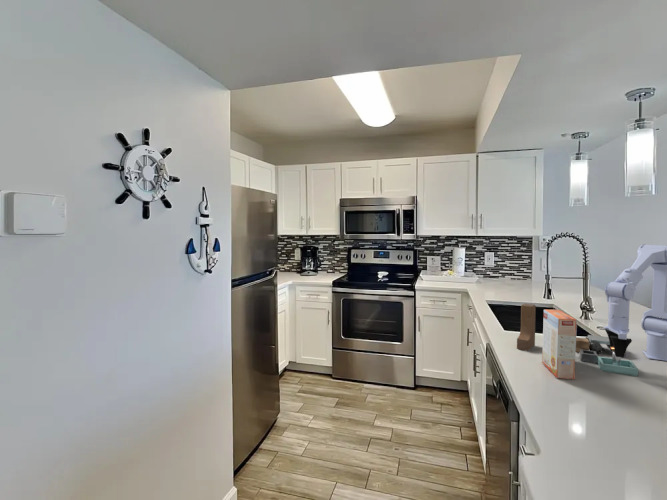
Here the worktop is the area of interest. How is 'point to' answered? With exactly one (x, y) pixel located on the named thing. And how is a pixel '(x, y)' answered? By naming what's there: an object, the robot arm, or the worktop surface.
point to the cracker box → (559, 343)
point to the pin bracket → (588, 356)
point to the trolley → (598, 343)
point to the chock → (582, 344)
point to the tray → (625, 368)
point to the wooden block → (527, 327)
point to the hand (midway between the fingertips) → (617, 353)
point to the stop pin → (615, 358)
